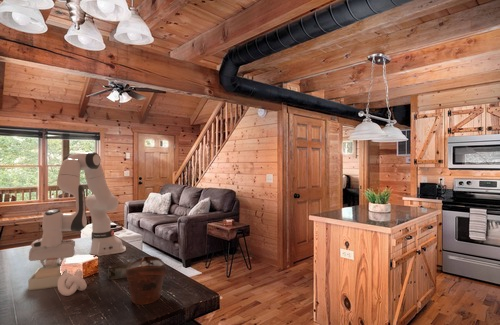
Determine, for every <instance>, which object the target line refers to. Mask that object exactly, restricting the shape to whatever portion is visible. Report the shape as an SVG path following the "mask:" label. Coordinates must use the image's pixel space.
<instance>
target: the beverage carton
mask: <svg viewBox="0 0 500 325" xmlns="http://www.w3.org/2000/svg"><path fill="white" fill-rule="evenodd" d="M133 262H134V261H130V262H128V261H127V262H121V263H115V264H109V265H108V270H107V272H108V277H107V278H108V279H107V280H109V281H110V280H116V279H117V280H118V279H125V278H126V279H127V277H125V274H126V269H127V267H128V266H129V265H130V264H131V263H133Z"/></svg>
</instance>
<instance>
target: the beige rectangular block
mask: <svg viewBox="0 0 500 325" xmlns="http://www.w3.org/2000/svg"><path fill="white" fill-rule="evenodd" d="M57 276H60V269H59V268H51V269H42V270H39V271H38V272H37V274H36V279H40V278H49V277H57Z"/></svg>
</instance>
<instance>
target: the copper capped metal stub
mask: <svg viewBox="0 0 500 325" xmlns="http://www.w3.org/2000/svg"><path fill="white" fill-rule="evenodd" d="M59 262H60V258H55V259H47V260H45V264H46V269H51V268H59V267H58V263H59Z"/></svg>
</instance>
